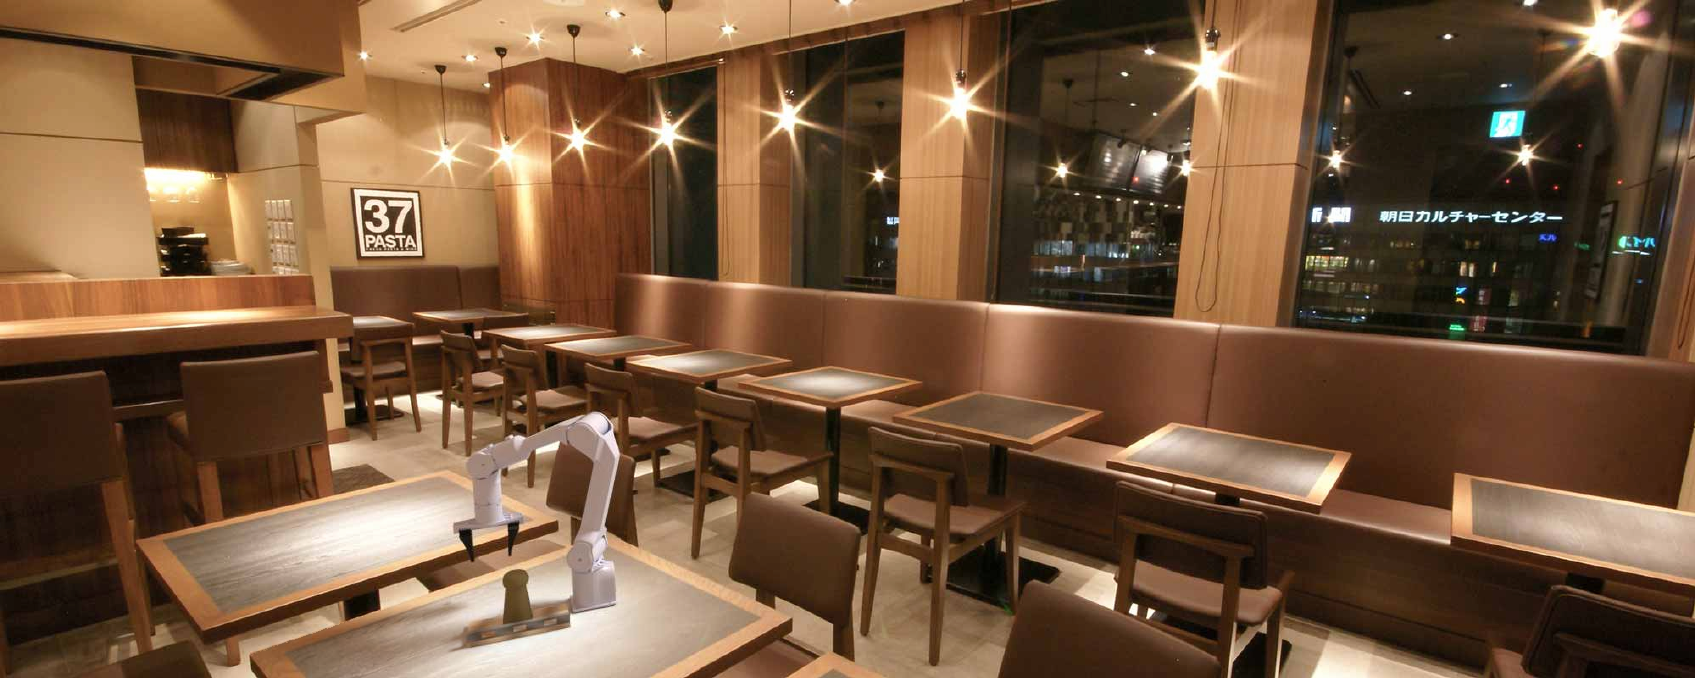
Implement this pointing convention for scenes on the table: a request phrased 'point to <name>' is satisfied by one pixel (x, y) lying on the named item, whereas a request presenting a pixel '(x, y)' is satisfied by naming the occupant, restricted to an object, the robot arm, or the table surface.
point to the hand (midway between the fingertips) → (491, 557)
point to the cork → (516, 597)
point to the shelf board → (517, 626)
